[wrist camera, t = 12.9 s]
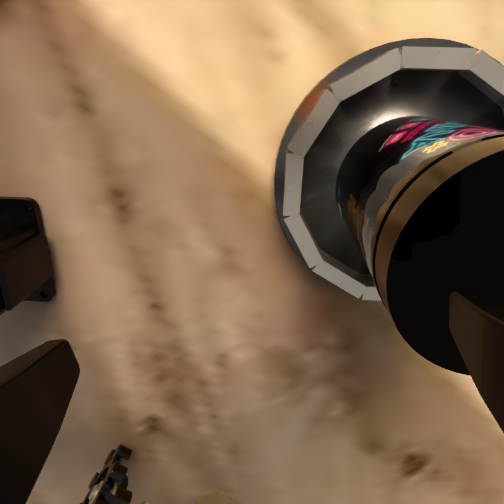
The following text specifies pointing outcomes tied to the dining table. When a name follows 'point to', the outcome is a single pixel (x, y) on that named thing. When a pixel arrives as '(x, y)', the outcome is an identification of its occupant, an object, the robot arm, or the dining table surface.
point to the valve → (117, 496)
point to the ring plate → (360, 122)
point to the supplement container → (426, 221)
